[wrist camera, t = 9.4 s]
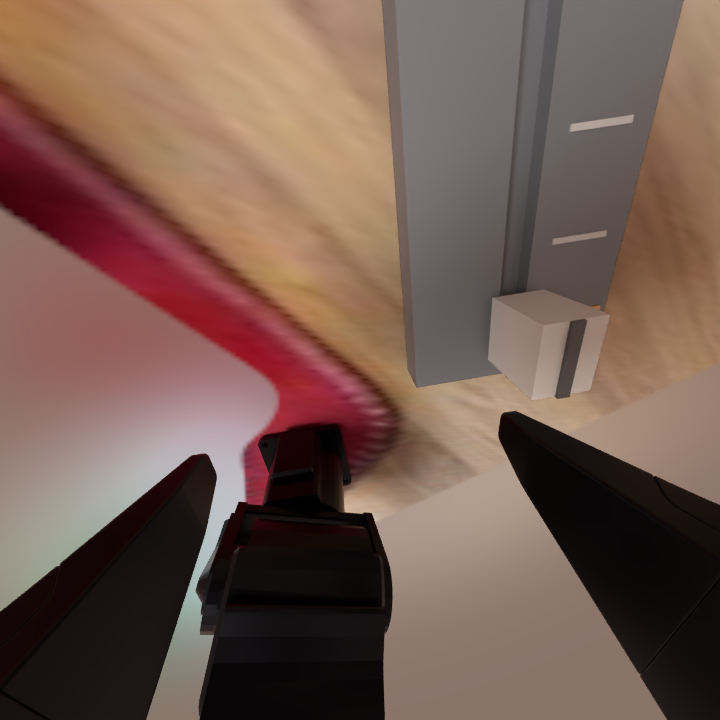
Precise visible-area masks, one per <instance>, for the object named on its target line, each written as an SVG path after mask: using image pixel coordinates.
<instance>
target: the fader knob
mask: <svg viewBox="0 0 720 720" xmlns="http://www.w3.org/2000/svg"><path fill="white" fill-rule="evenodd" d="M610 315H611V314H608V313H606V312H603V311H600V310H598V309H595V308H592V307H590V306H587V305H584V304H582V303H579V302H576V301H574V300H571V299H568V298H566V297H563V296H560V295H558V294H555V293H552V292H550V291H547V290H544V289H543V290H537V291H531V292H525V293H518V294H512V295H506V296H500V297H494V298H492V311H491V324H490V338H489V352H488V360H489V361H490V362H491V363H492V364H493V365H494V366H495V367H496V368H497V369H498V370H499V371H500V372H502V373H503V374H504V375H505V376H506V377H507V378H508V379H509V380H510V381H511V382H512V383H513V384H514V385H515V386H516V387H517V388H518V389H520V390H521V391H522V392H523V393H524V394H525V395H526V396H527V397H528V398H529V399H530V400H531V401H532V400H538V399H544V398H550V397H556V398H557V399H560V398H566V397H570V394H573V393H579V392H585V391H590V389H591V385H592V381H593V378H594V374H595V370H596V367H597V363H598V359H599V356H600V352H601V348H602V344H603V341H604V337H605V333H606V330H607V326H608V322H609V319H610Z"/></svg>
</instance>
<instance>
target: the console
mask: <svg viewBox="0 0 720 720" xmlns="http://www.w3.org/2000/svg"><path fill="white" fill-rule="evenodd" d="M683 1H684V0H382V7H383V22H384V36H385V50H386V65H387V79H388V93H389V107H390V122H391V136H392V150H393V165H394V179H395V193H396V208H397V222H398V236H399V251H400V265H401V279H402V294H403V308H404V322H405V336H406V351H407V365H408V371H409V373H410V375H411V377H412V379H413V381H414V383H415V385H416V387H423V386H429V385H435V384H441V383H447V382H453V381H459V380H465V379H471V378H477V377H483V376H489V375H495V374H501V373H502V372H500V371H499V370H498V369H497V368H496V367H495V366H494V365H493V364H492V363H491V362H490V361H489V360H488V352H489V338H490V324H491V311H492V298H494V297H500V296H506V295H512V294H518V293H525V292H531V291H537V290H543V289H544V290H547V291H550V292H552V293H555V294H558V295H560V296H563V297H566V298H568V299H571V300H574V301H576V302H579V303H582V304H584V305H587V306H590V307H592V308H595V309H598V310H600V311H603V312H604V308H605V304H606V300H607V296H608V292H609V288H610V285H611V281H612V277H613V273H614V269H615V265H616V261H617V257H618V254H619V250H620V246H621V242H622V238H623V234H624V230H625V226H626V222H627V219H628V215H629V211H630V207H631V203H632V199H633V195H634V191H635V187H636V184H637V180H638V176H639V172H640V168H641V164H642V160H643V156H644V152H645V149H646V145H647V141H648V137H649V133H650V129H651V125H652V121H653V118H654V114H655V110H656V106H657V102H658V98H659V94H660V90H661V86H662V83H663V79H664V75H665V71H666V67H667V63H668V59H669V55H670V51H671V48H672V44H673V40H674V36H675V32H676V28H677V24H678V20H679V17H680V13H681V9H682V5H683Z"/></svg>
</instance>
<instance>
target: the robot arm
mask: <svg viewBox="0 0 720 720" xmlns="http://www.w3.org/2000/svg"><path fill="white" fill-rule="evenodd" d="M334 430H335V431H337V432H332V431H334ZM498 436H499V440H500V442H501V444H502V447H503V449H504V451H505V453H506V455H507V457H508V459H509V461H510V463H511V465H512V467H513V469H514V470H515V473H516V475H517V477H518V479H519V481H520V483H521V485H522V486H523V488H524V490H525V492H526V493H527V495H528V497H529V498H530V500H531V501H532V503H533V505H534V506H535V508H536V509H537V511H538V513H539V514H540V516H541V517H542V519H543V521H544V522H545V524H546V525H547V527H548V529H549V530H550V532H551V533H552V535H553V537H554V538H555V540H556V542H557V543H558V545H559V546H560V548H561V550H562V551H563V553H564V554H565V556H566V558H567V559H568V561H569V562H570V564H571V566H572V567H573V569H574V570H575V572H576V574H577V575H578V577H579V578H580V580H581V582H582V583H583V585H584V586H585V588H586V590H587V591H588V593H589V594H590V596H591V597H592V599H593V601H594V603H595V604H596V606H597V607H598V609H599V611H600V612H601V614H602V615H603V617H604V619H605V620H606V622H607V623H608V625H609V627H610V628H611V630H612V631H613V633H614V635H615V636H616V638H617V640H618V641H619V642H620V644H621V646H622V648H623V649H624V650H625V652H626V654H627V656H628V657H629V659H630V660H631V662H632V664H633V665H634V667H635V668H636V670H637V672H638V673H639V674H641V675H640V677H641V678H642V680H643V682H644V683H645V685H646V687H647V688H648V690H649V691H650V693H651V694H652V696H653V698H654V699H655V701H656V703H657V704H658V706H659V707H660V709H661V711H662V712H663V714H664V715H665V717H666V718H667V720H720V505H719V504H717V503H714V502H712V501H709V500H707V499H705V498H702V497H700V496H698V495H696V494H694V493H691V492H689V491H687V490H685V489H682V488H680V487H678V486H676V485H674V484H672V483H669V482H667V481H665V480H663V479H661V478H658V477H657V476H654V477H653V475H652V474H650V473H648V472H646V471H644V470H641V469H639V468H637V467H635V466H633V465H631V464H629V463H626V462H624V461H622V460H620V459H618V458H616V457H614V456H611V455H609V454H607V453H605V452H603V451H601V450H598V449H596V448H594V447H592V446H590V445H588V444H586V443H584V442H581V441H579V440H577V439H575V438H572V437H571V436H569V435H566V434H564V433H562V432H560V431H558V430H556V429H554V428H551V427H549V426H547V425H545V424H543V423H541V422H539V421H536V420H534V419H532V418H530V417H528V416H526V415H524V414H521V413H519V412H517V411H511V412H505V413H503V414H502V415H501V419H500V425H499V432H498ZM264 442H266V443H267V444H264ZM258 446H259V449H260V451H261V454H262V456H263V459H264V461H265V464H266V466H267V469H268V472H269V476H268V481H267V485H266V490H265V494H264V499H263V503H262V505H252V504H248V502H238V505H237V508H236V510H235V513H232V514H231V516H230V519H228V520H226V521H225V522H224V525H223V528H222V531H221V534H220V537H219V540H218V543H217V545H216V548H215V550H214V552H213V554H212V556H211V557H210V559H209V561H208V563H207V565H206V567H205V569H204V570H203V572H202V574H201V576H200V578H199V581H198V584H197V588H196V593H197V595H198V597H199V599H200V600H201V602H202V608H201V615H203V616H202V622H201V628H200V635H214V638H213V642H212V647H211V651H210V655H209V660H208V665H207V669H206V673H205V678H204V683H203V687H202V691H201V695H200V700H199V716H200V720H385V712H384V682H383V681H384V680H383V653H384V634H385V633H386V632H387V630H388V627H389V623H390V619H391V612H392V579H391V571H390V566H389V562H388V559H387V556H386V553H385V550H384V547H383V544H382V541H381V538H380V535H379V533H378V530H377V527H376V524H375V521H374V518H373V515H372V513H363V514H357V513H346V512H345V510H344V491H343V486H345V485H349V484H350V483H351V475H350V470H349V465H348V461H347V456H346V451H345V447H344V442H343V437H342V433H341V428H340V427H339V426H338V425H329V426H323V427H317V428H311V429H305V430H300V431H294V432H288V433H282V434H276V435H270V436H264V437H261V438H260V440H259V443H258ZM344 479H346V480H344ZM216 480H217V475H216V472H215V469H214V467H213V465H212V462H211V460H210V458H209V456H208V455H207V454H198V455H192V456H190V457H189V458H188V459H187V460H185V461H184V462H183V463H182V464H180V465H179V466H178V467H177V468H176V469H174V470H173V471H172V472H171V473H169V474H168V475H167V476H166V477H165V478H163V479H162V480H161V481H160V482H159V483H157V484H156V485H155V486H154V487H152V488H151V489H150V490H149V491H148V492H146V493H145V494H144V495H143V496H141V497H140V498H139V499H138V500H137V501H136V502H134V503H133V504H132V505H131V506H129V507H128V508H127V509H126V510H124V511H123V512H122V513H121V514H120V515H119V516H117V517H116V518H115V519H113V520H112V521H111V522H110V523H109V524H107V525H106V526H105V527H104V528H103V529H101V530H100V531H99V532H98V533H96V534H95V535H94V536H93V537H92V538H90V539H89V540H88V541H87V542H86V543H84V544H83V545H82V546H81V547H79V548H78V549H77V550H76V551H75V552H73V553H72V554H71V555H70V556H68V557H67V558H66V559H65V560H64V561H62V562H61V563H60V566H56V567H55V568H54V569H53V570H51V571H50V572H49V573H48V574H46V575H45V576H44V577H43V578H42V579H40V580H39V581H38V582H37V583H36V584H34V585H33V586H32V587H31V588H29V589H28V590H27V591H26V592H25V593H23V594H22V595H21V596H19V597H18V598H17V599H16V600H14V601H13V602H12V603H11V604H9V605H8V606H7V607H6V608H4V609H3V610H2V611H0V720H146V718H147V715H148V712H149V709H150V705H151V702H152V699H153V696H154V693H155V690H156V687H157V683H158V680H159V677H160V674H161V671H162V668H163V665H164V661H165V658H166V655H167V652H168V649H169V646H170V643H171V639H172V636H173V633H174V630H175V627H176V624H177V620H178V618H179V614H180V611H181V608H182V604H183V602H184V599H185V596H186V593H187V589H188V586H189V583H190V580H191V577H192V574H193V571H194V567H195V564H196V561H197V558H198V555H199V552H200V549H201V545H202V542H203V539H204V536H205V532H206V528H207V524H208V519H209V514H210V509H211V505H212V500H213V495H214V490H215V486H216Z"/></svg>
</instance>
